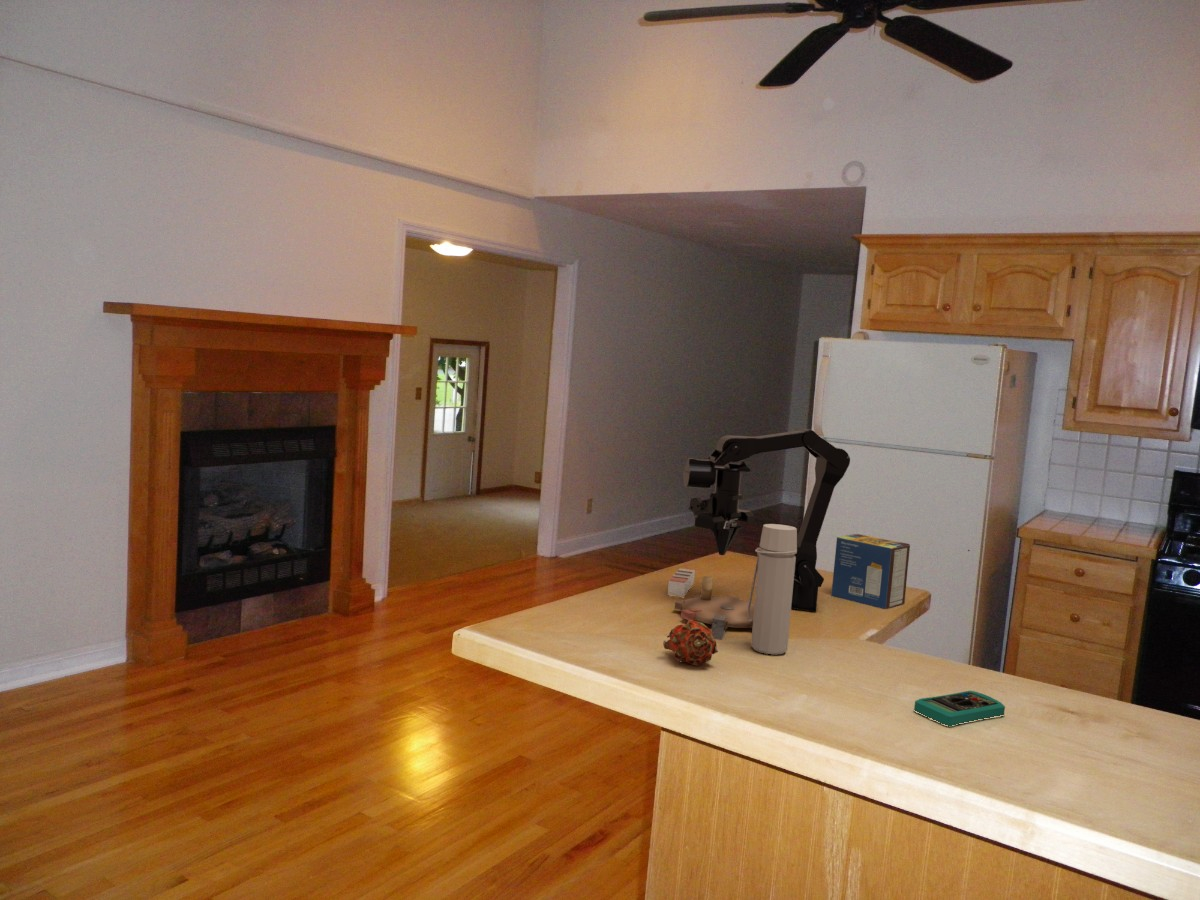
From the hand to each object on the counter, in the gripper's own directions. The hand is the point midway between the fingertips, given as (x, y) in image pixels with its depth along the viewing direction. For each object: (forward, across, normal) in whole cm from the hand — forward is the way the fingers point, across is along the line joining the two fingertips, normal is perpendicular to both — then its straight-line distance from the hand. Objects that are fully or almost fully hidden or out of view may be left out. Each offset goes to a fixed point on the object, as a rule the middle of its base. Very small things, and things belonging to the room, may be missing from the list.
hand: (721, 554), depth 212 cm
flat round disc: (+12, +10, +8) cm, 17 cm away
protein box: (+12, -38, +22) cm, 45 cm away
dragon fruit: (+12, +42, +18) cm, 47 cm away
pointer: (+12, +23, +13) cm, 29 cm away
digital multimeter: (+13, +30, +64) cm, 72 cm away
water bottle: (+12, +23, +24) cm, 36 cm away
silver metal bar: (+12, -5, -14) cm, 19 cm away
